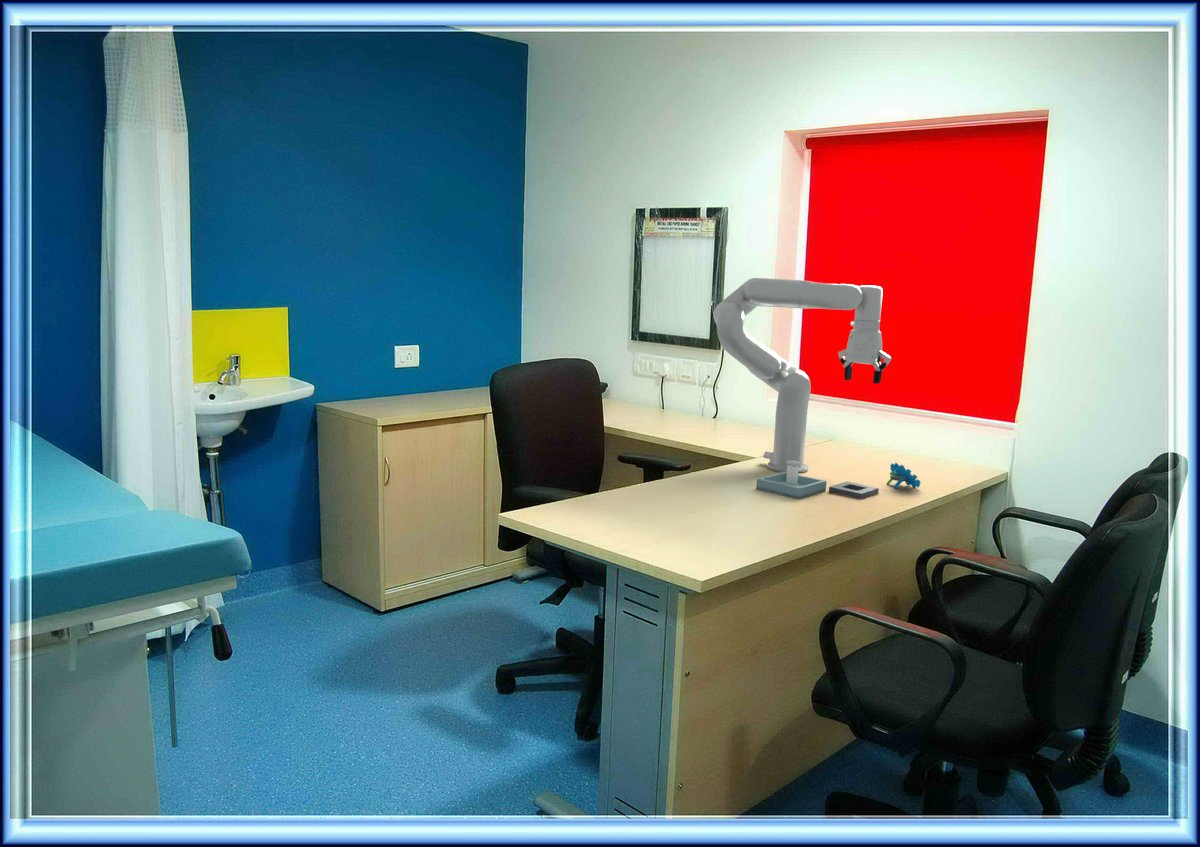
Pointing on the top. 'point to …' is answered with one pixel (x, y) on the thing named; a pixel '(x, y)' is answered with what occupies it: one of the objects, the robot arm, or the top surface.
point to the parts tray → (779, 486)
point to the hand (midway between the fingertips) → (862, 381)
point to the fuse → (792, 472)
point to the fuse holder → (853, 490)
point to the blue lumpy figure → (902, 476)
